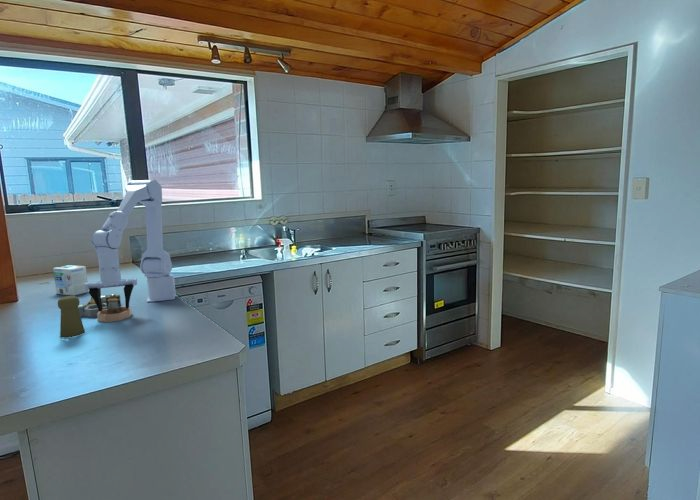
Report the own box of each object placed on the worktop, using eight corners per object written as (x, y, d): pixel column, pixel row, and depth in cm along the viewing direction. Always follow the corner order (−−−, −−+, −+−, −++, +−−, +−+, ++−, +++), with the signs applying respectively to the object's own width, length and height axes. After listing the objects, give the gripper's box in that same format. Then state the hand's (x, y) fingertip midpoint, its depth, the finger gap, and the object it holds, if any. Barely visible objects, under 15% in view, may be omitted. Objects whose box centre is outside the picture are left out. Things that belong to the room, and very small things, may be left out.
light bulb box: (55, 294, 172) (52, 267, 170) (71, 290, 178) (68, 264, 176) (73, 296, 168) (70, 269, 166) (89, 291, 174) (86, 265, 172)
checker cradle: (112, 309, 147) (111, 299, 146) (108, 315, 140) (107, 305, 139) (81, 312, 143) (80, 303, 143) (76, 319, 137) (75, 308, 136)
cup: (132, 311, 143) (132, 305, 143) (129, 319, 135) (128, 312, 135) (101, 315, 140) (101, 308, 140) (96, 323, 132) (95, 316, 131)
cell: (123, 313, 140) (120, 292, 139) (121, 317, 136) (119, 295, 135) (109, 315, 139) (106, 293, 138) (106, 318, 135) (104, 296, 134)
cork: (58, 339, 118) (53, 300, 117) (61, 332, 124) (56, 296, 122) (84, 335, 121) (79, 297, 120) (85, 329, 126) (81, 293, 125)
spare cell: (114, 305, 153) (114, 294, 153) (112, 306, 149) (111, 294, 149) (92, 307, 151) (91, 296, 151) (89, 308, 147) (88, 297, 147)
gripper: (80, 272, 129) (85, 315, 131) (133, 267, 134) (137, 309, 136) (85, 268, 135) (90, 309, 138) (136, 264, 140) (140, 304, 142)
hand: (114, 309), depth 137 cm, fingers open, 7 cm apart
